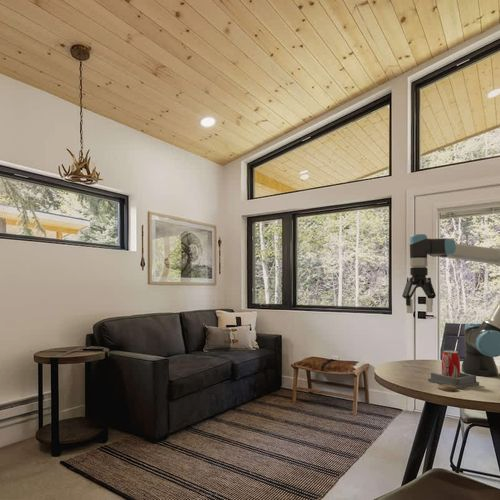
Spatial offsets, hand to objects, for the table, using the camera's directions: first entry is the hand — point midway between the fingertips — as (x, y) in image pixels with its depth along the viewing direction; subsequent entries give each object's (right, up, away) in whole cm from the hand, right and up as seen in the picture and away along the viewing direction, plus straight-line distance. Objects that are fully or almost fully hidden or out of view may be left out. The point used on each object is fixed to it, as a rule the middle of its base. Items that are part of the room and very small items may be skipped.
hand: (419, 312), depth 186 cm
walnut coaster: (0, -27, -26) cm, 37 cm away
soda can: (+7, -27, -15) cm, 31 cm away
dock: (+7, -28, -16) cm, 33 cm away
